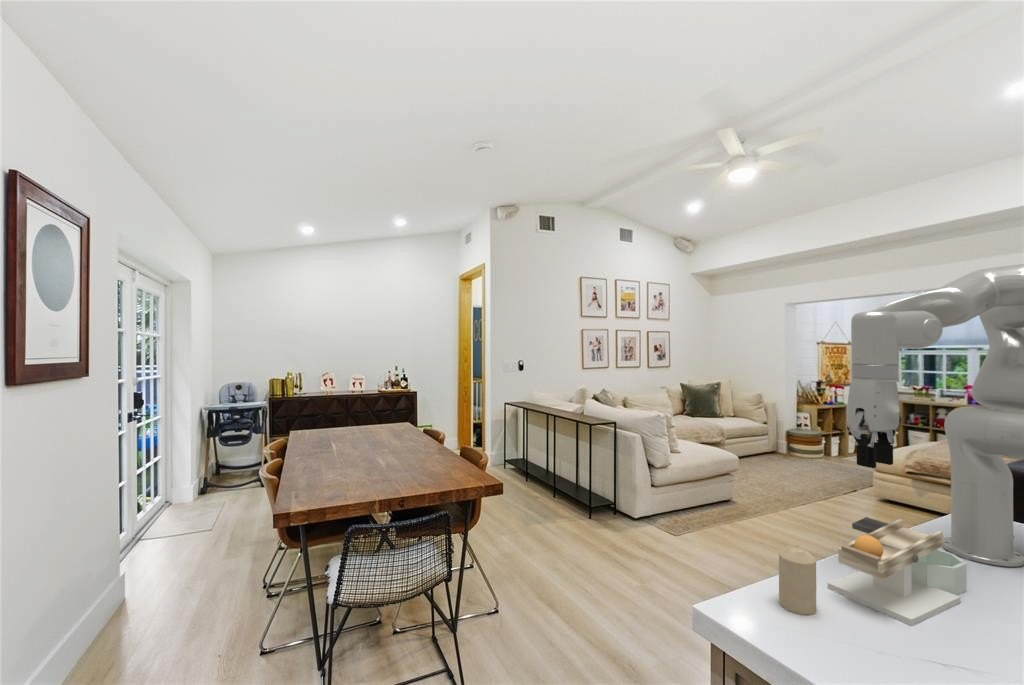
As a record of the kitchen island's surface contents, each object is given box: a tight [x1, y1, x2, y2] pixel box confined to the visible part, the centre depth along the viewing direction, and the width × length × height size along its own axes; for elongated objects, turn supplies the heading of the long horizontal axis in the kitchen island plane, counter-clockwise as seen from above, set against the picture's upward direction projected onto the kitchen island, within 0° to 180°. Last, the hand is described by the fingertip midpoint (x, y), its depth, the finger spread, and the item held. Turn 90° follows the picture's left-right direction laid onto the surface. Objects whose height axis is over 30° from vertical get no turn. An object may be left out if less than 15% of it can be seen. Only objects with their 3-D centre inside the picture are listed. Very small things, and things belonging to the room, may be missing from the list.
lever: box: [837, 516, 944, 580], centre depth 87 cm, size 20×13×3 cm, turn 115°
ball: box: [854, 534, 883, 558], centre depth 81 cm, size 4×4×4 cm
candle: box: [778, 544, 817, 616], centre depth 81 cm, size 6×6×10 cm
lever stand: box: [826, 564, 961, 626], centre depth 84 cm, size 16×13×7 cm
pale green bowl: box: [911, 548, 968, 596], centre depth 90 cm, size 10×10×5 cm
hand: (874, 464), depth 93 cm, fingers open, 5 cm apart
